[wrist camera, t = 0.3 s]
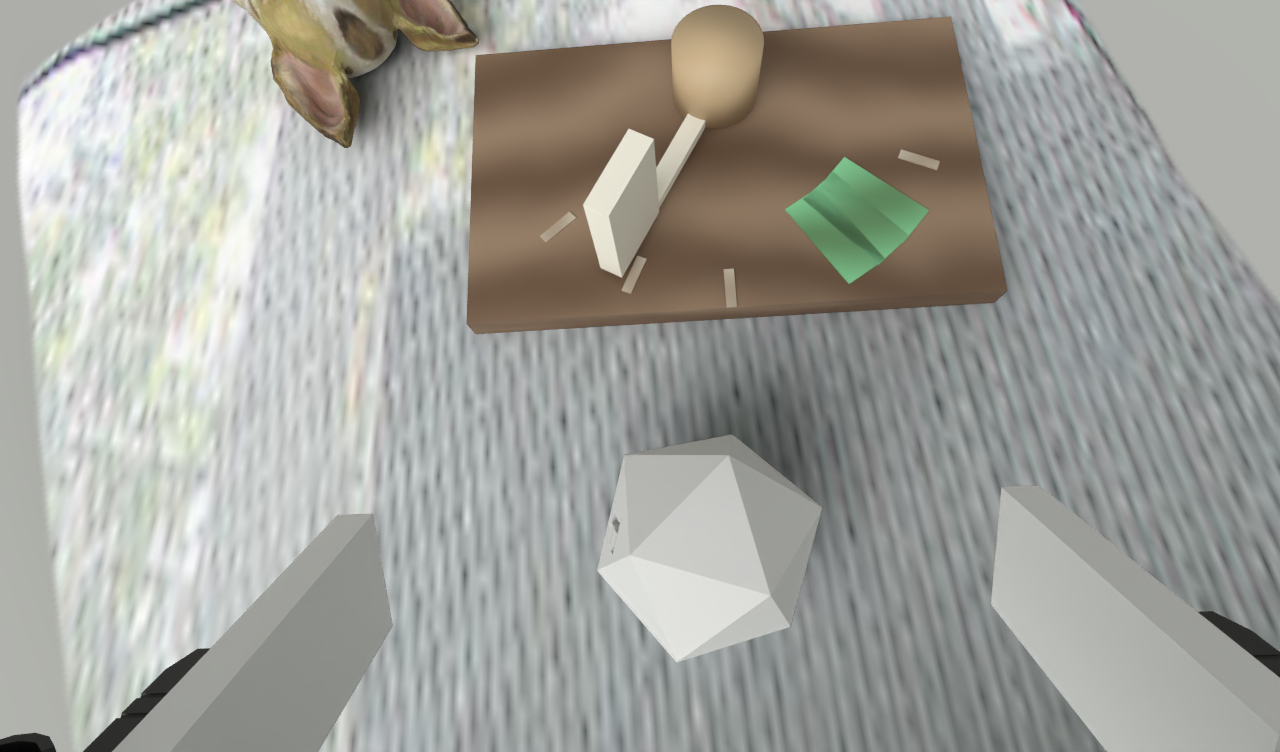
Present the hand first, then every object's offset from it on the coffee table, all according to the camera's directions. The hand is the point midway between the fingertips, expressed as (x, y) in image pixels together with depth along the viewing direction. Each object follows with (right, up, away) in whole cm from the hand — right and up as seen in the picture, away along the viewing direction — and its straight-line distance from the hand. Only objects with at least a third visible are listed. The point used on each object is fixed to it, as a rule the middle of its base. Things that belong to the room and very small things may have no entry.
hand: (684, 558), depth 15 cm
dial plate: (+3, +14, +23) cm, 27 cm away
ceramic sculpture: (-18, +24, +27) cm, 40 cm away
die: (+2, -4, +18) cm, 18 cm away
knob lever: (+1, +15, +21) cm, 26 cm away
